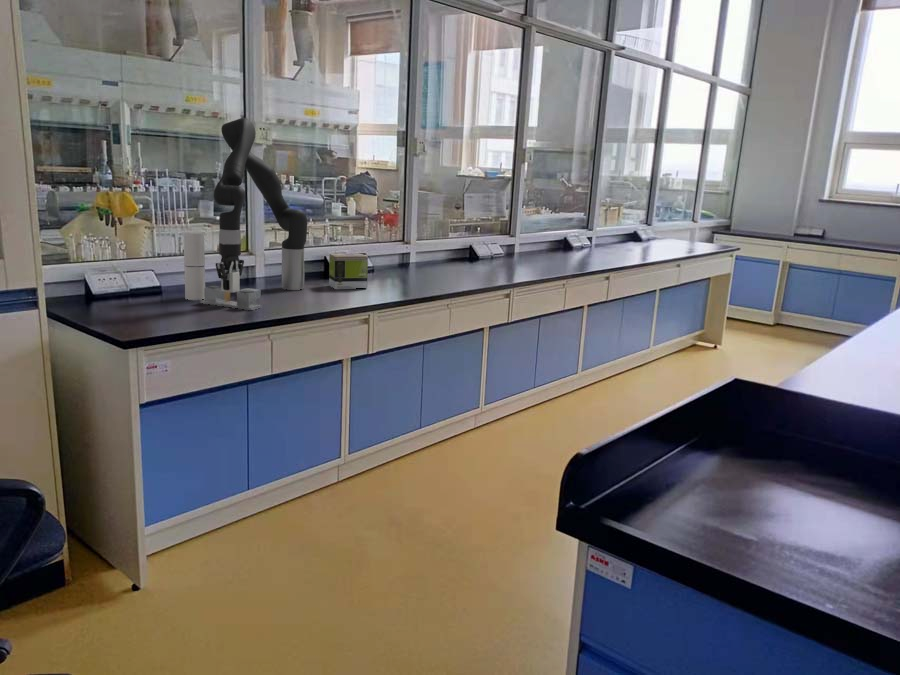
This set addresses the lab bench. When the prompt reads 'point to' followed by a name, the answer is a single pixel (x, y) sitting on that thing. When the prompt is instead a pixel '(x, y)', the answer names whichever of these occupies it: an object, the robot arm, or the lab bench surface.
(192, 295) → the cylindrical container
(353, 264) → the tea box
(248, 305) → the rail
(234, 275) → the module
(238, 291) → the supply block
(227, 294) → the terminal block
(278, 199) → the robot arm
